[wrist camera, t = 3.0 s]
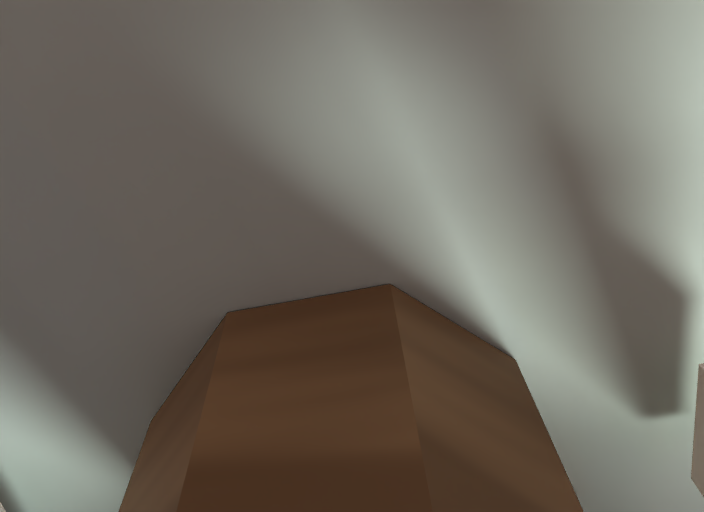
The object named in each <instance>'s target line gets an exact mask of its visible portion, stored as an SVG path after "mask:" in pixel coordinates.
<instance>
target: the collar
mask: <svg viewBox="0 0 704 512" xmlns="http://www.w3.org/2000/svg"><path fill="white" fill-rule="evenodd" d="M119 512H583V509H582V507H581V505H580V503H579V500H578V498H577V496H576V494H575V492H574V489H573V487H572V485H571V483H570V480H569V478H568V476H567V474H566V471H565V469H564V467H563V465H562V463H561V460H560V458H559V456H558V454H557V451H556V449H555V447H554V445H553V442H552V440H551V438H550V436H549V434H548V431H547V429H546V427H545V425H544V422H543V420H542V418H541V416H540V413H539V411H538V409H537V407H536V405H535V402H534V400H533V398H532V396H531V393H530V391H529V389H528V387H527V384H526V382H525V380H524V378H523V376H522V373H521V371H520V369H519V367H518V364H517V362H516V360H515V359H513V358H512V357H510V356H508V355H507V354H505V353H503V352H502V351H500V350H498V349H497V348H495V347H493V346H492V345H490V344H488V343H487V342H485V341H483V340H482V339H480V338H479V337H477V336H475V335H474V334H472V333H470V332H469V331H467V330H465V329H464V328H462V327H460V326H459V325H457V324H455V323H454V322H452V321H450V320H449V319H447V318H445V317H444V316H442V315H441V314H439V313H437V312H436V311H434V310H432V309H431V308H429V307H427V306H426V305H424V304H422V303H421V302H419V301H417V300H416V299H414V298H412V297H411V296H409V295H407V294H406V293H404V292H403V291H401V290H399V289H398V288H396V287H394V286H393V285H391V284H388V285H382V286H376V287H371V288H365V289H359V290H354V291H348V292H342V293H336V294H331V295H325V296H319V297H314V298H308V299H302V300H297V301H291V302H285V303H280V304H274V305H268V306H262V307H257V308H251V309H245V310H240V311H234V312H228V313H227V314H226V316H225V317H224V318H223V320H222V321H221V323H220V324H219V325H218V327H217V328H216V330H215V331H214V333H213V334H212V335H211V337H210V338H209V340H208V341H207V343H206V344H205V345H204V347H203V348H202V350H201V351H200V352H199V354H198V355H197V357H196V358H195V360H194V361H193V362H192V364H191V365H190V367H189V368H188V369H187V371H186V372H185V374H184V375H183V377H182V378H181V379H180V381H179V382H178V384H177V385H176V387H175V388H174V389H173V391H172V392H171V394H170V395H169V396H168V398H167V399H166V401H165V402H164V404H163V405H162V406H161V408H160V409H159V411H158V412H157V413H156V415H155V416H154V418H153V419H152V421H151V423H150V425H149V428H148V431H147V434H146V437H145V439H144V442H143V445H142V448H141V451H140V453H139V456H138V459H137V462H136V465H135V467H134V470H133V473H132V476H131V478H130V481H129V484H128V487H127V490H126V492H125V495H124V498H123V501H122V504H121V506H120V509H119Z"/></svg>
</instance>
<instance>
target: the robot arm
mask: <svg viewBox="0 0 704 512" xmlns="http://www.w3.org/2000/svg"><path fill="white" fill-rule="evenodd" d="M691 479H692V480H693V482H694V483H695V485H696V486H697V488H698V489H699V491H700V492H701V494H702V495H703V497H704V363H703V364H699V369H698V383H697V398H696V412H695V427H694V441H693V455H692V470H691ZM0 512H6V511H5V510H4V508H3V506H2V504H1V503H0Z"/></svg>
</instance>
